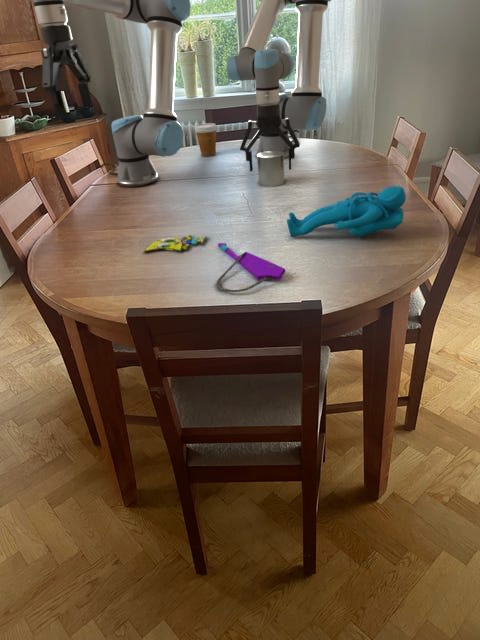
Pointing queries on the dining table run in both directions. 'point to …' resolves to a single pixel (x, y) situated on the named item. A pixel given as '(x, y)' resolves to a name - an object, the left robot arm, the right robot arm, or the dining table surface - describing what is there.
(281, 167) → the canister
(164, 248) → the toy
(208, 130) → the disposable coffee cup
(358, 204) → the toy
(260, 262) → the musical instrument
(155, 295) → the dining table surface
